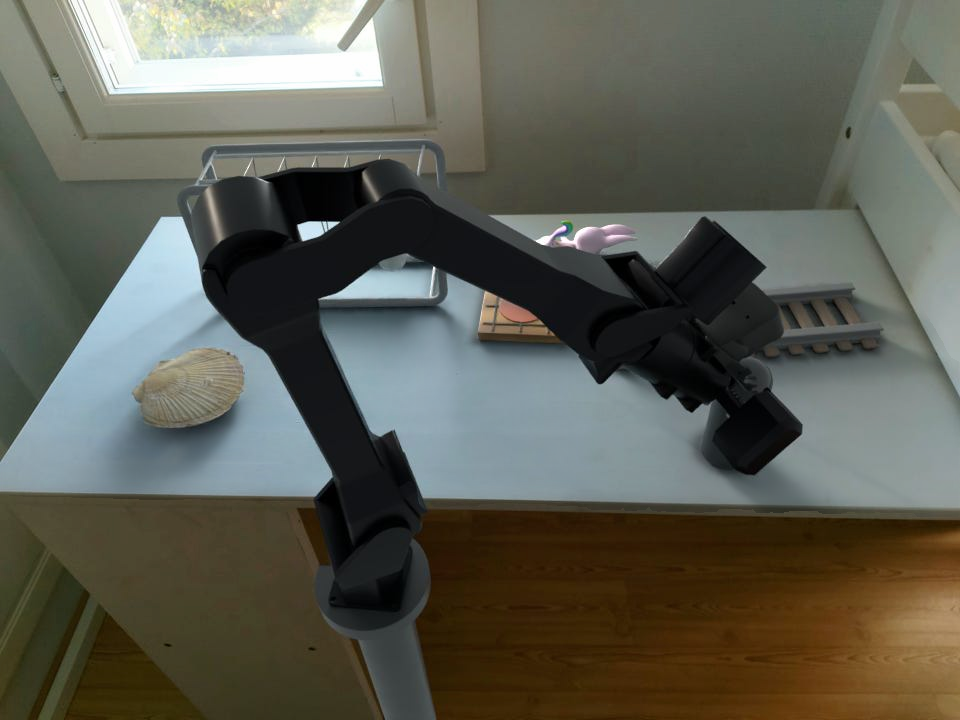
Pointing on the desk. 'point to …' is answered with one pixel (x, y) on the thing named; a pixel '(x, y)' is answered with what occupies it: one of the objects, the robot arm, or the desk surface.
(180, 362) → the seashell
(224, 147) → the newton's cradle
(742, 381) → the dark grey cylinder
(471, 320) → the desk surface
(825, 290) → the model train track
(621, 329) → the robot arm
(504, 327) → the board
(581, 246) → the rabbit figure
